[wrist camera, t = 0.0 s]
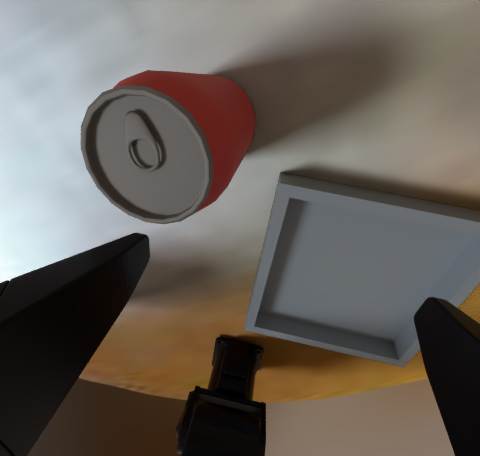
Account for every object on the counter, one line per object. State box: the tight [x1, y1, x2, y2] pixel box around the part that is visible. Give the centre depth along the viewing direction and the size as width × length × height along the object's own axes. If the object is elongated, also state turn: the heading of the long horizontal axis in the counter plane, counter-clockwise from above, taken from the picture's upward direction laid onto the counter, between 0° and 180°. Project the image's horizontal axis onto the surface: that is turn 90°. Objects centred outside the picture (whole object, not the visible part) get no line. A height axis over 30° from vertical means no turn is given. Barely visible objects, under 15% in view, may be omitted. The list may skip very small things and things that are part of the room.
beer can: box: [81, 70, 256, 224], centre depth 15 cm, size 7×7×12 cm
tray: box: [244, 172, 480, 367], centre depth 24 cm, size 18×18×3 cm
